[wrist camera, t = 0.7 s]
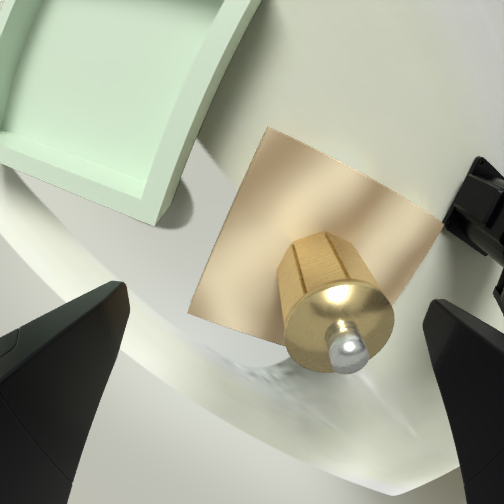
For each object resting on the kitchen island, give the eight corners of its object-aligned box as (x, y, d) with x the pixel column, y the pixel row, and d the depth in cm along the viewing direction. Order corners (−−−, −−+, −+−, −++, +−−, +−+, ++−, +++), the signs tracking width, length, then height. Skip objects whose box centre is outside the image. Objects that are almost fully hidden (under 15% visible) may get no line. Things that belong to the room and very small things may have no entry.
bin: (271, -17, 14) (275, -42, 11) (170, 204, 21) (154, 226, 17) (67, -51, 11) (41, -67, 8) (-3, 138, 18) (-35, 148, 14)
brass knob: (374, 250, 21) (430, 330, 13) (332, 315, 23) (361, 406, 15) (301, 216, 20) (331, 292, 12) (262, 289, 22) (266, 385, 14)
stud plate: (434, 217, 21) (474, 248, 16) (343, 352, 27) (357, 399, 22) (267, 126, 19) (273, 133, 14) (190, 301, 24) (177, 350, 19)
